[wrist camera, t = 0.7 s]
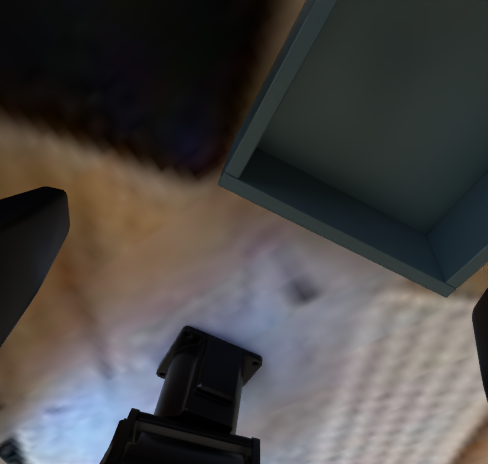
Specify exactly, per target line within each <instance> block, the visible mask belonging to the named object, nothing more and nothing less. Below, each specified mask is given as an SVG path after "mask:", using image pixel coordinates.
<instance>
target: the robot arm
mask: <svg viewBox="0 0 488 464" xmlns="http://www.w3.org/2000/svg"><path fill="white" fill-rule="evenodd" d="M69 228H70V219H69V207H68V197H67V194H66V192H65V191H64V190H61V189H56V188H52V187H41V188H37V189H34V190H31V191H27V192H24V193H21V194H17V195H14V196H11V197H7V198H4V199H1V200H0V347H1V346H2V344H3V343H4V341H5V340H6V338H7V337H8V335H9V334H10V332H11V331H12V329H13V328H14V327H15V325H16V324H17V322H18V321H19V319H20V318H21V316H22V315H23V313H24V312H25V310H26V309H27V307H28V306H29V304H30V303H31V301H32V300H33V298H34V297H35V295H36V294H37V292H38V290H39V288H40V287H41V285H42V283H43V281H44V279H45V277H46V275H47V273H48V271H49V270H50V268H51V266H52V264H53V262H54V260H55V258H56V256H57V254H58V252H59V250H60V248H61V246H62V244H63V242H64V240H65V238H66V236H67V234H68V232H69ZM472 322H473V328H474V334H475V340H476V346H477V352H478V359H479V365H480V371H481V376H482V381H483V386H484V390H485V394H486V398H487V401H488V288H487V289H486V291H485V292H484V294H483V295H482V297H481V298H480V300H479V301H478V303H477V304H476V306H475V307H474V309H473V313H472ZM261 365H262V357H261V356H259V355H257V354H254V353H252V352H249V351H247V350H245V349H242V348H240V347H238V346H235V345H233V344H231V343H228V342H226V341H224V340H221V339H219V338H217V337H214V336H212V335H210V334H207V333H205V332H203V331H200V330H198V329H195V328H193V327H190V326H185V327H184V328H183V329H182V330H181V332H180V333H179V335H178V337H177V338H176V340H175V341H174V343H173V345H172V346H171V348H170V349H169V351H168V353H167V354H166V356H165V357H164V359H163V361H162V362H161V364H160V365H159V367H158V369H157V373H156V374H157V375H158V376H159V377H161V378H163V379H165V381H164V384H163V387H162V390H161V393H160V397H159V400H158V403H157V406H156V409H155V412H154V415H153V414H149V413H144V412H140V410H138V409H134V408H132V409H131V411H130V413H129V415H128V418H127V419H126V418H125V419H124V420H120V421H119V424H118V426H117V429H116V431H115V434H114V436H113V439H112V441H111V444H110V446H109V448H108V450H107V451H106V453H105V455H104V457H103V458H102V460H101V462H100V464H260V439H257V438H253V437H252V438H247V437H243V436H239V435H236V428H237V421H238V414H239V406H240V399H241V392H242V387H243V386H244V385H245V384H246V383H247V382H248V380H249V379H250V378H251V377H252V376H253V375H254V374H255V372H256V371H257V370H258V369H259V368H260V367H261Z"/></svg>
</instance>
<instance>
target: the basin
mask: <svg viewBox="0 0 488 464" xmlns="http://www.w3.org/2000/svg"><path fill="white" fill-rule="evenodd" d="M218 185H219V186H221V187H223V188H225V189H227V190H229V191H231V192H233V193H235V194H237V195H239V196H241V197H243V198H245V199H247V200H249V201H251V202H253V203H255V204H257V205H259V206H261V207H264V208H266V209H268V210H270V211H272V212H274V213H276V214H278V215H280V216H282V217H284V218H286V219H288V220H290V221H292V222H294V223H296V224H298V225H300V226H302V227H304V228H306V229H308V230H310V231H312V232H314V233H316V234H318V235H320V236H322V237H324V238H326V239H328V240H330V241H332V242H334V243H336V244H338V245H340V246H343V247H345V248H347V249H349V250H351V251H353V252H355V253H357V254H359V255H361V256H363V257H365V258H367V259H369V260H371V261H373V262H375V263H377V264H379V265H381V266H383V267H385V268H387V269H389V270H391V271H393V272H395V273H397V274H399V275H401V276H403V277H405V278H407V279H409V280H411V281H413V282H415V283H417V284H419V285H422V286H424V287H426V288H428V289H430V290H432V291H434V292H436V293H438V294H440V295H442V296H444V297H448V296H449V295H450V294H451V293H452V292H454V291H455V290H456V288H458V287H459V286H460V285H461V284H463V283H464V282H465V281H466V280H467V279H468V278H469V277H471V276H472V275H473V274H474V273H475V272H476V271H478V270H479V269H480V268H481V267H482V266H483V265H484V264H486V263H487V262H488V0H306V2H305V4H304V6H303V8H302V10H301V12H300V14H299V16H298V18H297V20H296V22H295V23H294V25H293V27H292V29H291V31H290V33H289V35H288V37H287V39H286V41H285V43H284V45H283V47H282V49H281V50H280V52H279V54H278V56H277V58H276V60H275V62H274V64H273V66H272V68H271V70H270V72H269V74H268V76H267V78H266V79H265V81H264V83H263V85H262V87H261V89H260V91H259V93H258V95H257V97H256V99H255V101H254V103H253V105H252V106H251V108H250V110H249V112H248V114H247V116H246V118H245V120H244V122H243V124H242V126H241V128H240V130H239V132H238V134H237V135H236V137H235V139H234V141H233V143H232V146H231V148H230V151H229V154H228V157H227V160H226V162H225V165H224V168H223V171H222V174H221V176H220V179H219V182H218Z"/></svg>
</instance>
